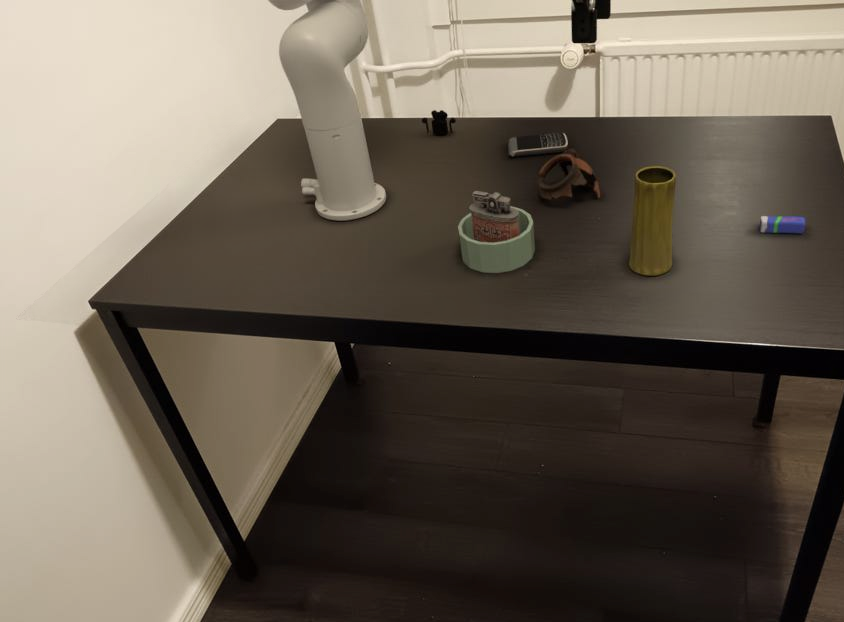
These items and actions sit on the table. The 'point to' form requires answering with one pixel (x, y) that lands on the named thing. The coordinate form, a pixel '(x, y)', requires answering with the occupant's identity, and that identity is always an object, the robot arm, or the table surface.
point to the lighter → (493, 218)
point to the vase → (652, 221)
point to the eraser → (782, 224)
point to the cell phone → (537, 144)
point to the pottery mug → (567, 176)
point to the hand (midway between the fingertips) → (591, 30)
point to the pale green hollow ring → (497, 247)
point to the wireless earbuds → (439, 123)
